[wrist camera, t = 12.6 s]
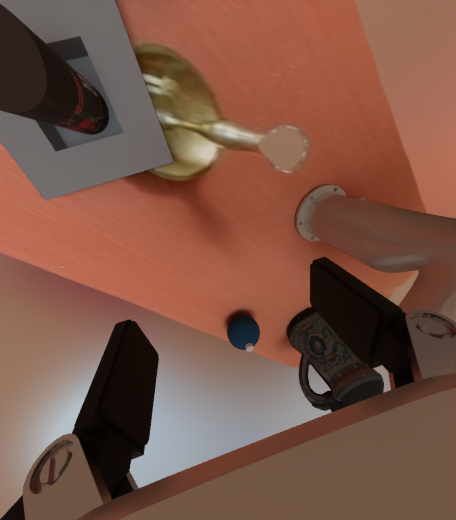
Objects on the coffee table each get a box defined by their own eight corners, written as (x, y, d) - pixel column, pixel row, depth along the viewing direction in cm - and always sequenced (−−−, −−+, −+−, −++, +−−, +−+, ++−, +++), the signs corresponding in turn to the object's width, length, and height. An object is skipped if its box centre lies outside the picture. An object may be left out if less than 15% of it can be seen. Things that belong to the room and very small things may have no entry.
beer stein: (338, 315, 63) (422, 395, 42) (298, 352, 68) (355, 441, 46) (312, 297, 55) (399, 384, 34) (269, 340, 60) (321, 440, 39)
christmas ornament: (217, 324, 51) (226, 357, 42) (238, 303, 49) (252, 334, 41) (238, 334, 55) (250, 366, 46) (258, 315, 53) (274, 345, 45)
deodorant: (46, 106, 24) (-99, 48, 11) (70, 64, 23) (-61, -55, 10) (94, 145, 27) (23, 133, 14) (118, 109, 26) (63, 61, 13)
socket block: (111, -11, 21) (97, -48, 17) (173, 161, 31) (173, 162, 27) (-58, 24, 20) (-114, -8, 16) (62, 194, 29) (45, 200, 25)
